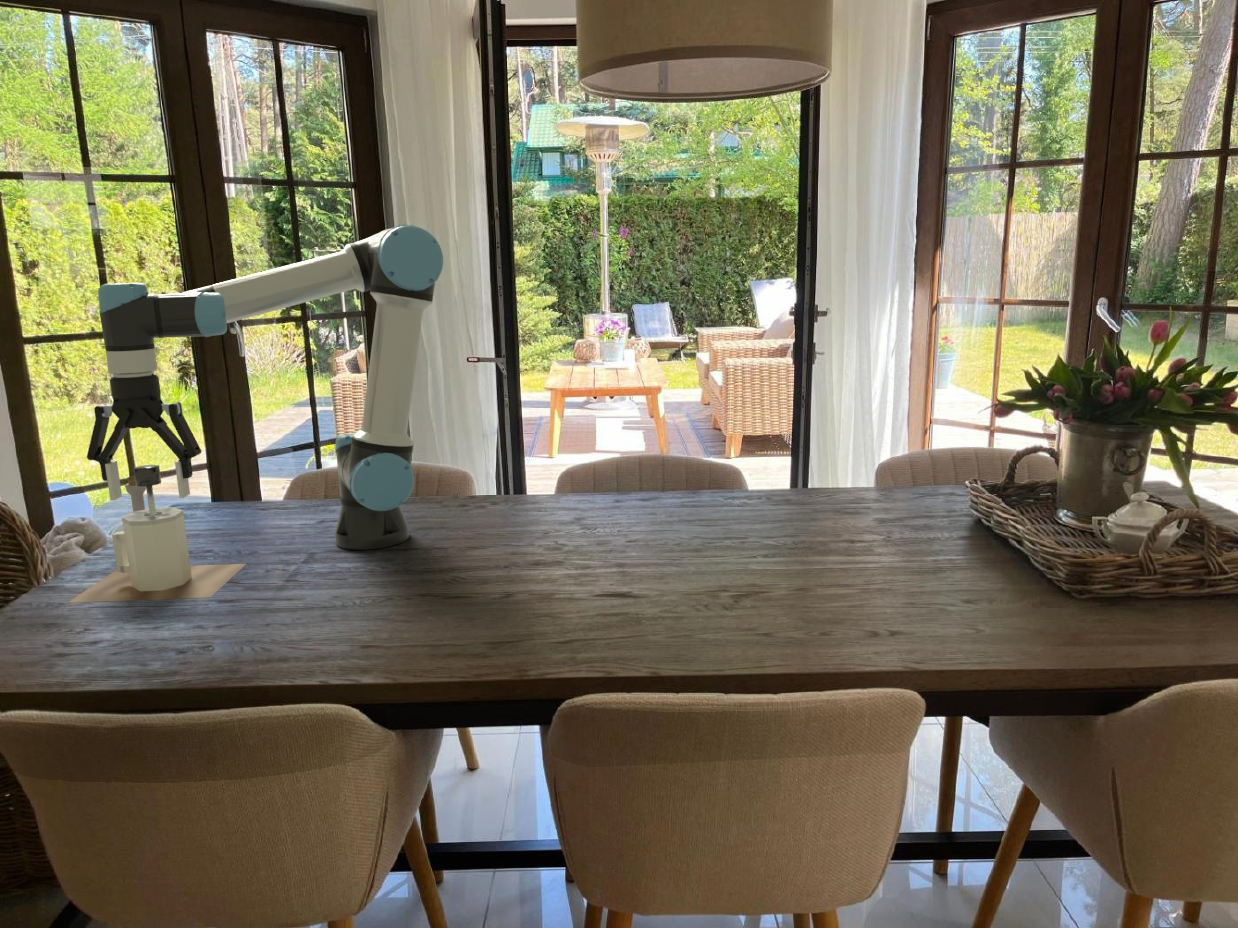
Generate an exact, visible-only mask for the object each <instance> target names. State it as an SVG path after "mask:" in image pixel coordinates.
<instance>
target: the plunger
mask: <svg viewBox="0 0 1238 928" xmlns="http://www.w3.org/2000/svg"><path fill="white" fill-rule="evenodd" d="M133 472H134V473H133V474H134V475H135V481H136V486H146V490H145V492H146V496H147V498H146V499H147V504H148V509H149V512H150V516H156V510H155V508H156V504H155V498H154V497H155V496H154V491H153V490H154V488H153V486H156V485H160V484H162V479H161V478H162V477H161V471H160V465H158V464H144V465H139V466H135V467H133Z"/></svg>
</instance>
